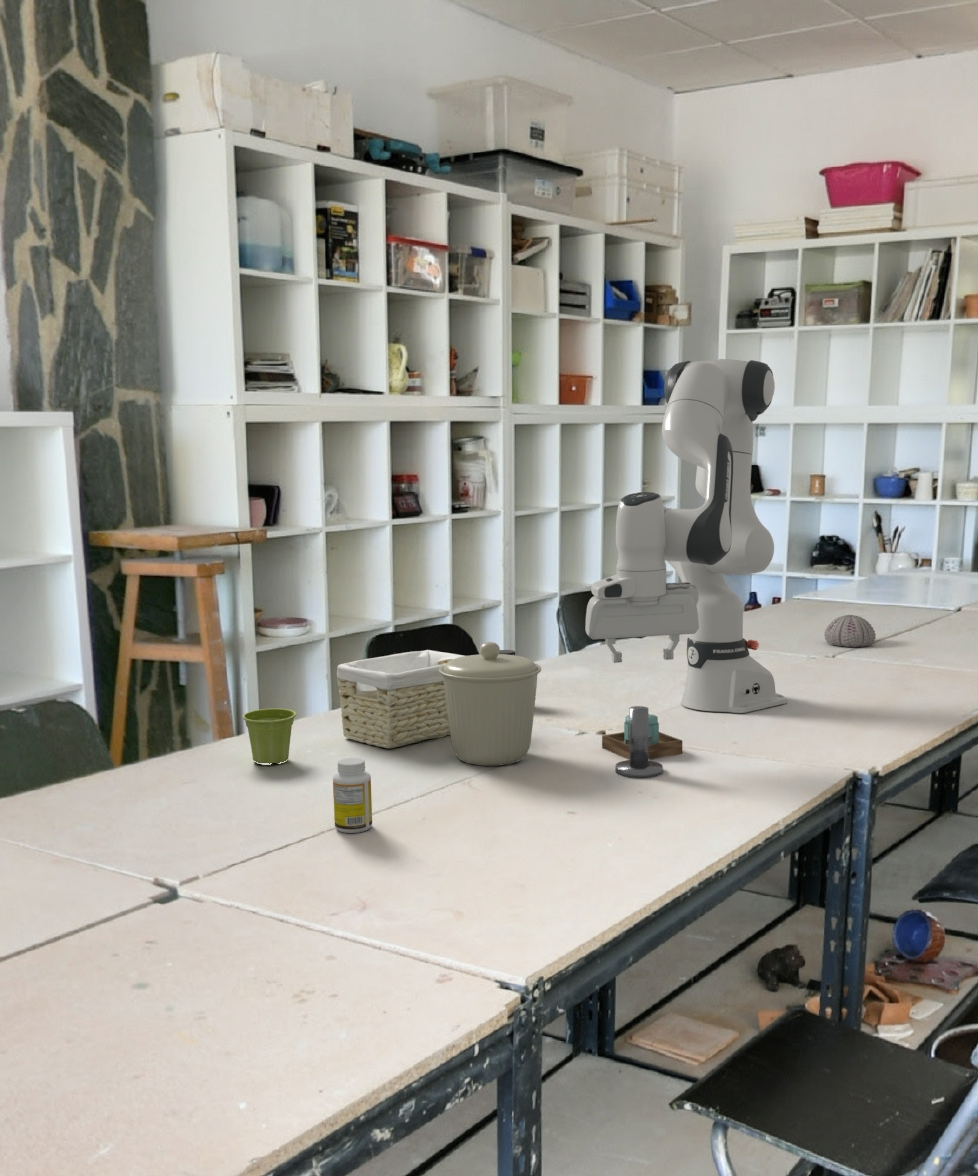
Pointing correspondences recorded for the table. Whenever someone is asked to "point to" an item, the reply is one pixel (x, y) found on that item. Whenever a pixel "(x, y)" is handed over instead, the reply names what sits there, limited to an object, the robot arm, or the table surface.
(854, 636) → the sea urchin shell
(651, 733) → the cap
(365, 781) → the supplement bottle
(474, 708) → the canister
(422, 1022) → the table surface
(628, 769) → the post
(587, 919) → the table surface
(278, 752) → the plant pot
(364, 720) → the storage basket
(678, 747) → the walnut tray
